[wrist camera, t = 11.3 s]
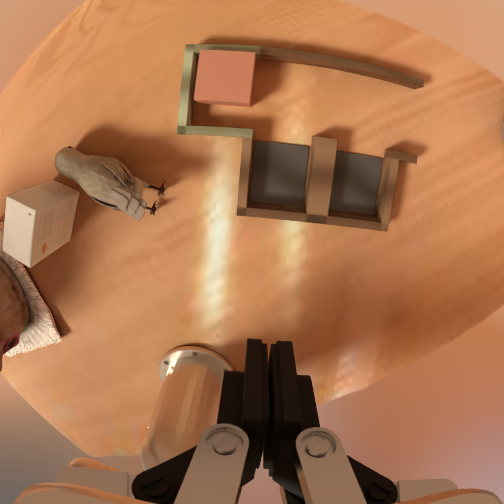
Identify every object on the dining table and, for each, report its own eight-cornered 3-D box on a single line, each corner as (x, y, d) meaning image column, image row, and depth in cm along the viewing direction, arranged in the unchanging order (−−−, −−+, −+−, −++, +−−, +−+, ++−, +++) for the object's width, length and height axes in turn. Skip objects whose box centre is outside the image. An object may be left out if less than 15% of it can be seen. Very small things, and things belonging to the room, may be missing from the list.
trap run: (396, 228, 38) (403, 233, 36) (179, 205, 38) (173, 210, 36) (414, 82, 31) (423, 79, 29) (190, 50, 31) (185, 44, 29)
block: (250, 107, 34) (249, 103, 30) (200, 103, 34) (193, 99, 30) (255, 61, 32) (255, 52, 28) (206, 58, 32) (200, 49, 28)
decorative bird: (77, 134, 35) (45, 137, 28) (174, 181, 37) (155, 192, 30) (65, 170, 37) (33, 178, 30) (158, 218, 39) (137, 236, 32)
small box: (53, 178, 37) (6, 193, 27) (81, 191, 38) (36, 209, 28) (44, 227, 40) (1, 251, 30) (71, 241, 40) (29, 269, 30)
